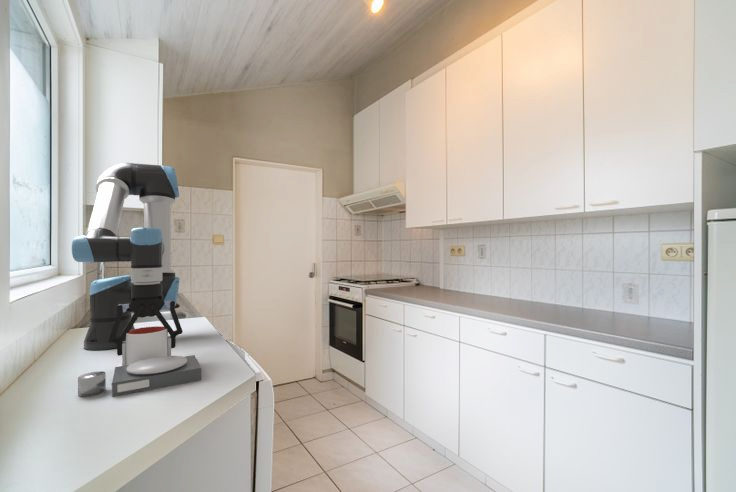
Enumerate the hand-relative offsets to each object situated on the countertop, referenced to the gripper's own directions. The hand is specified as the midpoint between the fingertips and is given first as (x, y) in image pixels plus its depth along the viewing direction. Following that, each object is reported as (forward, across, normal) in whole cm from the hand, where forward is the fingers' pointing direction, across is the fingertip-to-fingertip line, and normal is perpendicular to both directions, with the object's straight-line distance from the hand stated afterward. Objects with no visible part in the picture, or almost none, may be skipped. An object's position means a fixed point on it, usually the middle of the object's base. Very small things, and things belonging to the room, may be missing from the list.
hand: (147, 363), depth 101 cm
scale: (+1, +2, -14) cm, 14 cm away
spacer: (+1, -11, -15) cm, 19 cm away
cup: (+1, 0, 0) cm, 1 cm away
